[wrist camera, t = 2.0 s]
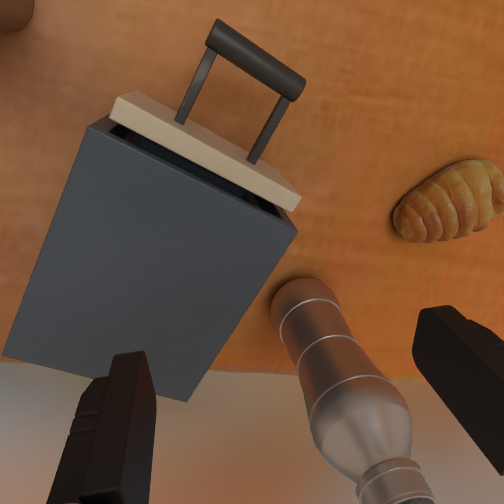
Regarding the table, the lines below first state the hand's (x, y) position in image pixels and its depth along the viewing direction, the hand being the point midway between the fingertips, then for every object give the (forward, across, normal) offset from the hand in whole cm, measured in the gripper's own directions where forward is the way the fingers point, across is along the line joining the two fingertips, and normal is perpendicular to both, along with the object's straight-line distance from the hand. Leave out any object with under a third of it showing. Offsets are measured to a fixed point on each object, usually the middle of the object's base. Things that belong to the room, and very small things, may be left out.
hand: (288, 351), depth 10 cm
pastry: (+21, -20, +5) cm, 30 cm away
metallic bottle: (+21, -6, +14) cm, 26 cm away
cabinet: (+21, +6, +5) cm, 22 cm away
